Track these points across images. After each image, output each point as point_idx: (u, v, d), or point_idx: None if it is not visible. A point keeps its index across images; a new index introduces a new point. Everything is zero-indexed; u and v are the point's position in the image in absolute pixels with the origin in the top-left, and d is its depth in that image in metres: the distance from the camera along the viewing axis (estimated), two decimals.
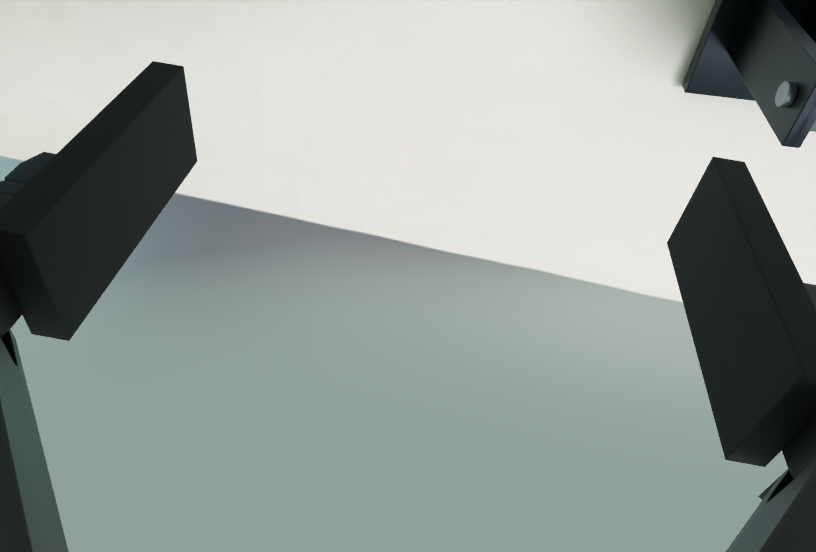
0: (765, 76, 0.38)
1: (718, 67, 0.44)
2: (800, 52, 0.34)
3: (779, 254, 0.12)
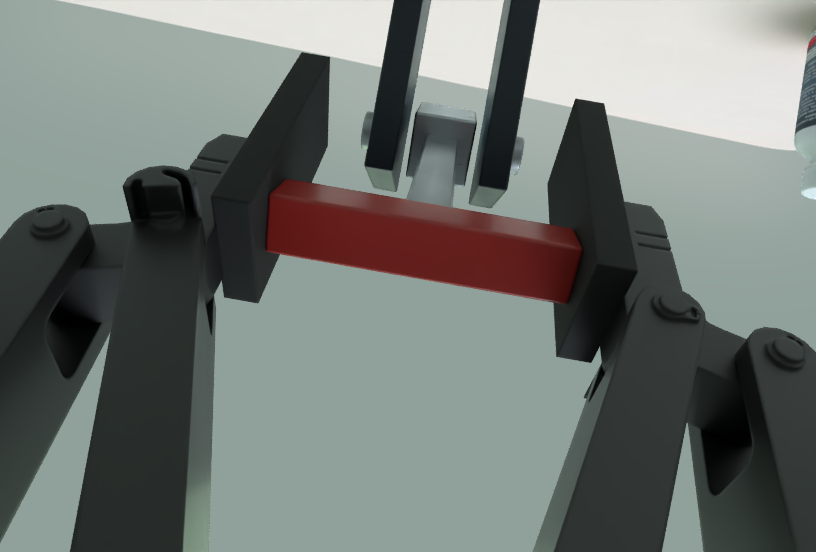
0: None
1: None
2: None
3: (608, 175, 0.13)
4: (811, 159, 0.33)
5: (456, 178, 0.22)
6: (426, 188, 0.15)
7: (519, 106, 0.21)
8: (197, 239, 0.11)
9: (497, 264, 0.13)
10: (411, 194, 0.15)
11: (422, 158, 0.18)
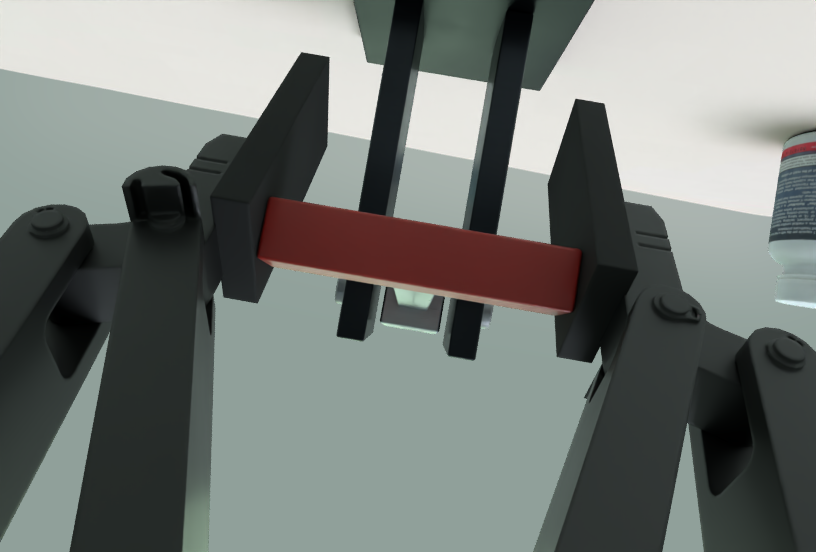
0: None
1: None
2: None
3: (609, 175, 0.13)
4: (784, 269, 0.33)
5: (430, 323, 0.22)
6: None
7: None
8: (196, 239, 0.11)
9: (499, 268, 0.12)
10: None
11: None
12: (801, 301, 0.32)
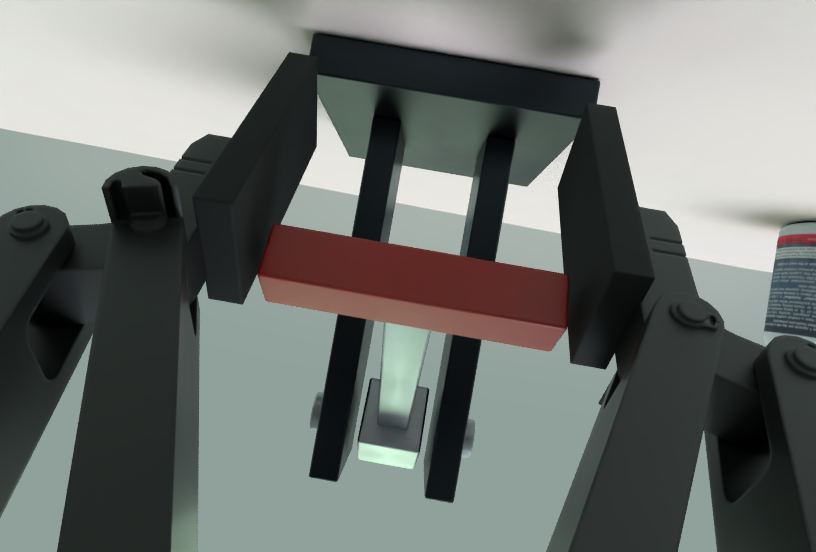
0: None
1: None
2: (325, 387, 0.21)
3: (623, 180, 0.13)
4: None
5: (411, 442, 0.21)
6: None
7: (465, 417, 0.21)
8: (179, 239, 0.11)
9: (492, 287, 0.13)
10: None
11: None
12: None
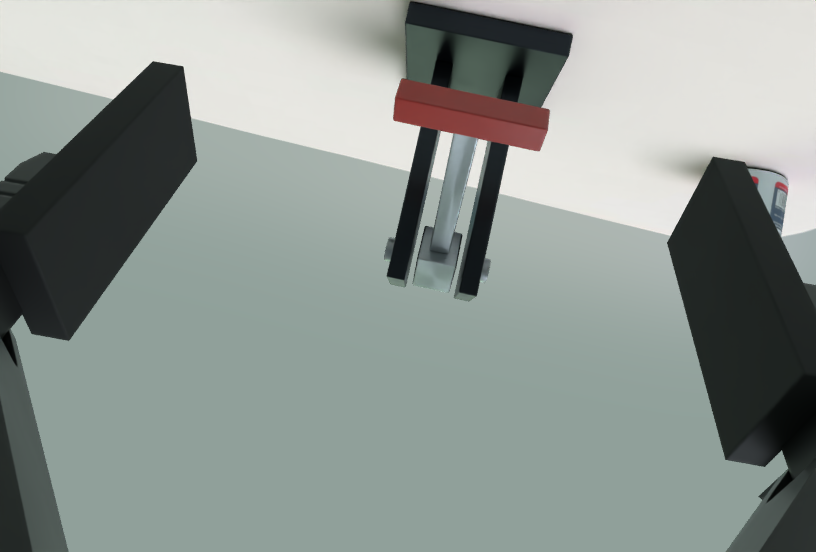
0: None
1: None
2: None
3: (778, 254, 0.12)
4: None
5: (450, 261, 0.34)
6: None
7: (486, 243, 0.33)
8: None
9: (511, 111, 0.26)
10: None
11: None
12: None
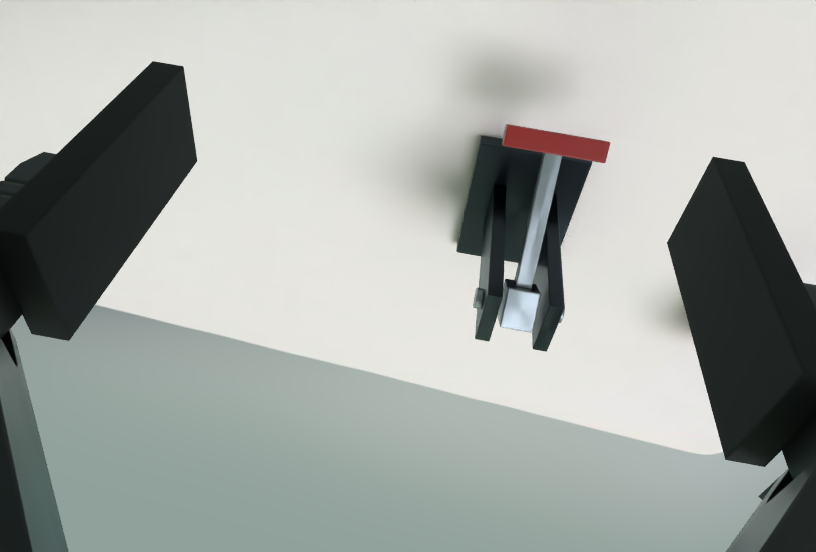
0: (483, 269, 0.45)
1: (479, 236, 0.52)
2: (488, 266, 0.42)
3: (778, 254, 0.12)
4: None
5: (535, 291, 0.41)
6: None
7: (561, 276, 0.41)
8: None
9: None
10: (541, 166, 0.40)
11: (527, 225, 0.41)
12: None
